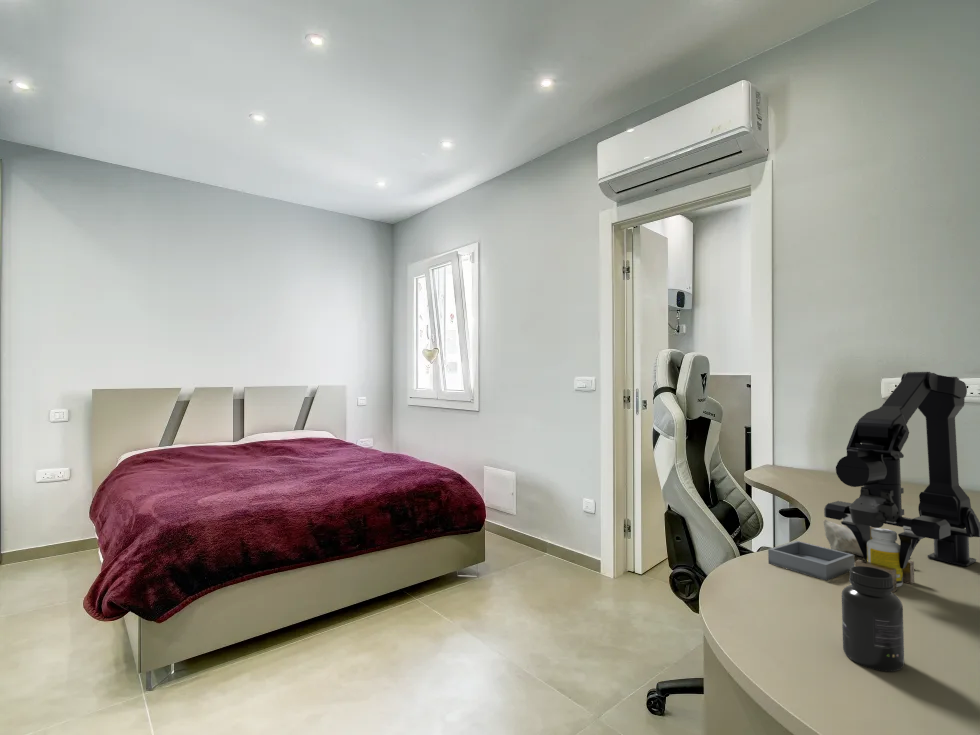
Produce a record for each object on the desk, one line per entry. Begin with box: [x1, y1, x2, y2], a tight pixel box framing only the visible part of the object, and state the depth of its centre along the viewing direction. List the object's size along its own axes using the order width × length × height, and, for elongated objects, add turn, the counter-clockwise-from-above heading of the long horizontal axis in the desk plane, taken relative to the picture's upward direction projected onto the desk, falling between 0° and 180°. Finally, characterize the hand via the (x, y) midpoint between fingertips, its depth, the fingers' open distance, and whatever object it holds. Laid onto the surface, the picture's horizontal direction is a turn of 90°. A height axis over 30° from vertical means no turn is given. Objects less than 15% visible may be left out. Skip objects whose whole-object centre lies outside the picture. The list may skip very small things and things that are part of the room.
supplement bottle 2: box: [841, 566, 905, 673], centre depth 70 cm, size 7×7×12 cm
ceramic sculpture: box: [822, 518, 911, 561], centre depth 113 cm, size 11×9×15 cm
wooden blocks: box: [854, 559, 915, 594], centre depth 98 cm, size 9×6×4 cm, turn 121°
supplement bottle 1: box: [866, 527, 904, 588], centre depth 98 cm, size 5×5×10 cm
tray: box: [767, 540, 855, 581], centre depth 107 cm, size 11×11×3 cm
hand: (884, 563), depth 98 cm, fingers closed on supplement bottle 1, 5 cm apart
